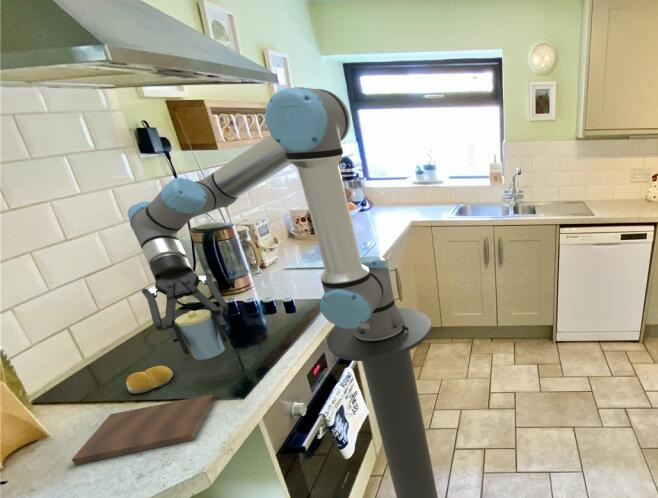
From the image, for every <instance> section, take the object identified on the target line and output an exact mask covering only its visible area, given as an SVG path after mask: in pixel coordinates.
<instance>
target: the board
mask: <svg viewBox="0 0 658 498" xmlns="http://www.w3.org/2000/svg"><path fill="white" fill-rule="evenodd" d="M216 401H217V399H216V396H215V394H214V393H213V394H207V395H201V396H197V397H192V398H186V399H181V400H176V401H171V402H165V403H162V404H156V405H155V404H154V405H150V406H146V407H145V406H144V407H139V408H134V409H129V410H124V411H119V412H113V413H110V414H109V416H107V418H106V419H104V421H103V422H102V423H101V425H99V427H98V428H97V429H96V431H95V432H94V433H93V434H92V435H91V436H90V437H89V438H88V440H87V441H86V442H85V443H84V444H83V446H82V447H81V448H80V449H79V450H78V452H77V453H76V454H75V455H74V456H73V457H72V458H71V461H72V463H73V464H74V465H75V466H79V465H83V464H84V465H85V464H88V463H92V462H97V461H102V460H106V459H112V458H115V457H116V458H117V457H121V456H125V455H126V456H127V455H130V454H134V453H140V452H144V451H148V450H154V449H157V448H163V447H168V446H172V445H176V444H180V443H185V442H191V441H194V440H195V439H196V437H197V435H198V433H199V431H200V430H201V428H202V426H203V424H204V422H205V420H206V418H207V417H208V415H209V413H210V412H211V409H212V407H213V406H214V403H215V402H216Z"/></svg>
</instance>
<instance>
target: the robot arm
mask: <svg viewBox="0 0 658 498" xmlns="http://www.w3.org/2000/svg"><path fill="white" fill-rule="evenodd" d="M265 123H266V127H267V131H268V132H269V135H267V136H266V137H264V138H263V139H262V140H260V141H258V142H257V143H256V144H253V146H251V147H250V148H248V149H247V150H245V151H243V152H241V154H239V155H237V156H235V158H233V159H231V160H230V161H229V162H226V163H225V164H224V165H222V166H221V167H219V168H218V169H217V170H215V171H214V172H212V173H210V174H209V175H207V176H206V177H204V178H202V179H200V180H196V181H193V180H192V179H189V178H183V177H175V178H173V179H171V181H169V182H168V183H166V184H165V185H164V186H163V187H162V189H161V190H160V192H159V193H158V194H157V196H155V197H154V199H153V200H152V201H141V202H138V203H137V204H132V205H131V206H130V207H129V208H128V210H127V217H128V220H129V225H130V228H131V229H132V231H133V233H134V236H135V238H136V240H137V242H138V244H139V246H140V248H141V251H142V253H143V255H144V258H145V260H146V262H147V264H148V266H149V269H150V271H151V274H152V276H153V278H154V281H155V284H154V286H153V287H151V288H143V289H141V294H142V295H143V296H144V298H145V299H146V300H147V303H148V307H149V312H150V316H151V319H152V323H153V326H154V327H155V329H156V330H157V331H158V332H161V331H167V332H168V335H169V337H170V339H171V341H172V342H173V343H178V342H179V344H180V346H181V350H182V351H183V353H184V355H188V354H190V349H189V347H188V345H187V343H186V341H185V339H184V337H183V335H182V333H181V330H180V328H179V326H178V325H176V323H175V319H176V310H177V302H178V300H179V299H182V298H184V297H190V296H193V298H195V299H197V300H198V302H200V303H201V304H202V305H203V306H204V307H205V308H206V309H207V310H209V311H210V312H211V314H212V315H211V317H212V319H213V321H214V324H215V326H216V328H217V331H218V333H219V335H220V337H221V340H222V342H223V343H226V342H228V339H227V336H226V333H225V331H224V329H223V328H226V327H227V322H226V320H225V318H224V316H223V314H224V313H227V312H229V311H230V310H229V306H228V303H227V302H226V300H225V299H224V297H223V296H222V294H221V292H220V290H219V289H218V288H217V286H216V284H215V281H214V278H213V274H212V273H208V272H207V273H206V274H205V275H198V274H197V273H195V271H194V268H193V267H192V264H191V261H190V260H189V258H188V255H187V254H186V251H185V249H184V247H183V245H182V243H181V240H180V238H179V236H178V232H180V230H181V229H183V228H184V227H185V226H186V224H187V223H188V222H190V221H191V220H192V219H193V218H195V217H199V216H201V215H204V214H207V213H210V212H212V211H215V210H218V209H221V208H226V207H229V206H231V205H232V204H234V203H236V202H237V200H238V199H239V197H241V196H242V195H244V194H246V193H247V192H249V191H251V190H252V189H254V188H255V187H257V186H259V185H260V184H262V183H263V182H265V181H266V180H268V179H270V178H271V177H274V176H275V175H277V174H278V173H280V172H281V171H283V170H284V169H287V167H289V166H290V165H293V166H294V167H296V169H297V172H298V175H299V179H300V182H301V186H302V189H303V193H304V198H305V201H306V204H307V208H308V212H309V215H310V219H311V223H312V227H313V230H314V233H315V238H316V241H317V245H318V249H319V253H320V256H321V259H322V263H323V267H324V271H323V273H321V275H320V281H321V285H322V288H323V292H324V293H323V295H322V296H321V299H320V303H319V308H320V312H321V314H322V315H323V318H325V319H326V320H327V321H328V322H329V323H330V324H333V325H334V326H335V327H337V326H338V327H341V328H346V329H352V328H353V332H354V336H355V338H356V339H357V340H359V341H361V342H367V343H375V342H382V341H386V340H389V339H392V338H394V337H396V336H398V335H400V334H401V333H402V332H403V331H404V330H407V331H408V329H409V328H408V327H406V325H405V321H404V318H403V316H402V315H401V313H400V311H399V310H398V308H399V307H398V306H397V305H396V302H395V295H394V290H393V286H392V281H391V275H390V268H389V266H388V262H387V260H386V259H385V257H382V256H376V255H375V256H372V255H371V256H370V255H369V256H361V257H360V252H359V247H358V243H357V238H356V233H355V230H354V226H353V225H354V224H353V221H352V217H351V213H350V207H349V203H348V199H347V196H346V190H345V186H344V182H343V178H342V173H341V169H340V162H341V160H342V159H343V157H344V150H343V145H342V141H343V140H345V138H346V137H347V136H348V134H349V133H350V130H351V115H350V112H349V110H348V107H347V105H346V104H345V103H344V101H343V100H342V99H341V98H340V97H339V96H338V95H336V93H333V92H332V91H329V90H326V89H323V88H322V89H321V88H311V87H310V88H309V87H303V86H300V87H299V86H294V87H287V88H283V89H280V90H278V91H276V92H275V93H274V94H273V95H272V96H271V97H270V99H269V100H268V102H267V104H266V108H265ZM200 283H202V284H203V285H205V286H207V287H208V289H209V291H210V292H211V294H212V295H213V297H214V300H216V302H217V304H219V306H217V305H216V304H215V303H214V302H213V301H211V300H210V299H209V298H208V297H207V296H206V295H205V294H204V293H203V292H202V291H200V290H199V288H198V286H199V284H200ZM158 293H161V294H163V295H165V296H166V298H165V299H166V302H165V303H166V304H165V316H164V317H165V318H164V321H163V320H162V317H161V312H160V309H159V305H158V301H157V300H156V299H157V297H158Z"/></svg>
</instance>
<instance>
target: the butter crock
mask: <svg viewBox="0 0 658 498" xmlns="http://www.w3.org/2000/svg"><path fill="white" fill-rule="evenodd" d="M212 314H213V313H212V312H211V311H210V310H209V309H197V310H189V311H187V312H186V313H183V314H181V315H179V316H178V317H175V324H176V325H177V326H178V328H179V330H180V332H181V334H182V337H183V339H184V341H185V344H186V346H187V348H188V350H189V352H190V354H191V355H192V358H193V359H194V360H195V361H196V360H197V361H203V360H208V359H212V358H214V357H217V356H219V355H221V354H222V353H223V352H224V351H225V350H226V347H225V344H224V341H223V339H222V337H221V335H220V333H219V330H218V328H217V326H216V324H215V322H214V319H213V317H212Z"/></svg>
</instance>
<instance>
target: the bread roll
mask: <svg viewBox="0 0 658 498" xmlns="http://www.w3.org/2000/svg"><path fill="white" fill-rule="evenodd" d="M173 376H174V373H173V371H172V370H171V368H169V367H167V366H166V365H156V366H152V367H149V368H147V369H145V370H144V371H138V372H137V371H136V372H134V373H131V374H129V375H128V376H127V378H126V382H125V384H126V388H127V390H128V392H129V393H130V394H137V395H138V394H143V393H147V392H150V391H152V390H155V389H156V388H161V387H163V386H164V385H165V386H166V385H167V384H168V383H169V382H170V381H171V379H172V378H173Z"/></svg>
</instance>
